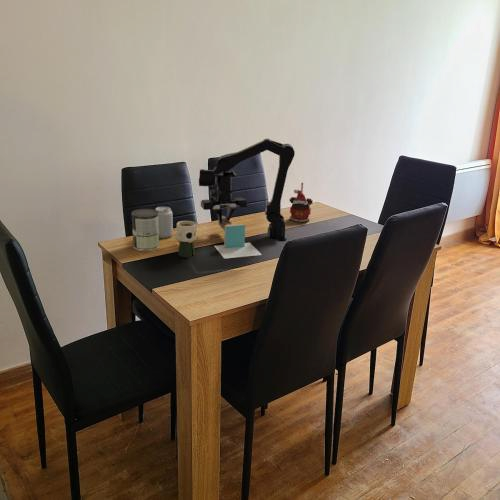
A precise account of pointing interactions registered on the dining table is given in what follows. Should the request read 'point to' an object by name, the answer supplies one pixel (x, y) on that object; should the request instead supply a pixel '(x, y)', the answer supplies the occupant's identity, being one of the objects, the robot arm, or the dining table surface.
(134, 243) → the coffee can
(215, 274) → the dining table surface
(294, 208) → the red and brown figurine
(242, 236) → the tile
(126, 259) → the dining table surface
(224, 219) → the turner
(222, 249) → the mat
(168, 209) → the can
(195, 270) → the dining table surface
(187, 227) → the character mug
